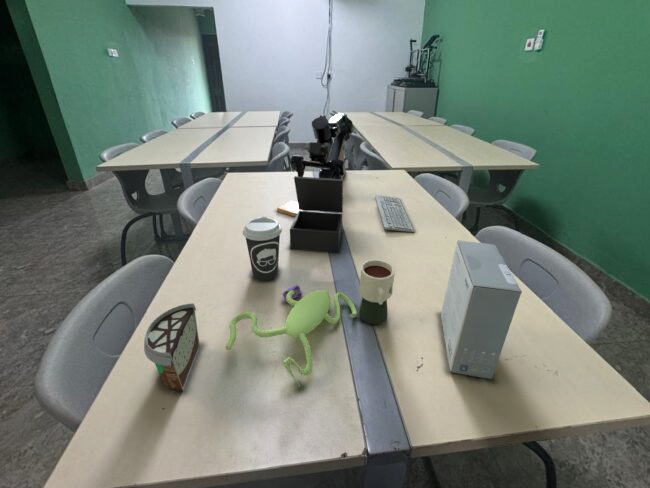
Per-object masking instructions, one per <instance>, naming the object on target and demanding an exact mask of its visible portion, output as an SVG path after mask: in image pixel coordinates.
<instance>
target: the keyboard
mask: <svg viewBox="0 0 650 488" xmlns="http://www.w3.org/2000/svg"><path fill="white" fill-rule="evenodd" d="M374 199H375V202H376V206H377V209H378V213H379V216H380V219H381V223H382V226H383V230H386V231H397V232H406V233H408V232H409V233H415V230H414V227H413V226H412V224H411V221H410V219H409V216H408V215H407V212H406V211H405V209H404V206H403V204H402V202H401V200H400V198H399V197H397V196H388V195H378V194H375V196H374Z"/></svg>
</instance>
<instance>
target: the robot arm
mask: <svg viewBox="0 0 650 488" xmlns="http://www.w3.org/2000/svg"><path fill="white" fill-rule="evenodd" d="M311 127H312V131H313V135H314V139H315V140H316V142H311V141H310V142H309V143H308V149H307V153H309V154H308V158H309V159H305V158H304V156H303V155H297V154H296V155H294V154H293V155H292V156H291V157H290V159H289V161H290V164H291V166H292V170H293V171H295V172H296V173H297V177H304V175H305V170H306V167H309V168H316V169H320V170H319V171H318V178H329V179H342V176H343V175H344V173H345V174H346V172H345V169H346V163H345V164H344V161H345V160H344V161H343V160H340V158H341V154H342V151H343V150H344V147H345V145H346V142H347V141H349V140H350V139H351V137H352V134H353V133H354V124H353V121H352V120H351V119H350V118H349V117H348V115H347V114H346V113H340V112H337V113H336V112H335V113H334V115H333V116H332V117H331V118H330V119H327V117H326V115H323V114H319V116H318V117H316V118H313V120H312V121H311ZM331 149H332V150H331ZM330 151H331V153H330ZM329 155H330V157H329ZM328 159H329V160H328ZM344 176H345V175H344Z"/></svg>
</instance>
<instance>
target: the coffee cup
mask: <svg viewBox="0 0 650 488" xmlns="http://www.w3.org/2000/svg"><path fill="white" fill-rule="evenodd" d="M282 232H283V229H282V226H281V224H280V223H279V221H278V220H277V219H276V218H274V217H271V216H258V217H254V218H250V219H249V220H247V221H246V222H245V225H244V227H243V229H242V235H243V237H244V238H245V242H246V247H247V252H248V257H249V262H250V267H251V271H252V272H251V273H252V276H253V278H254V279H255V280H256V281H259V282H260V281H261V282H268V281H271V280H273V279H275V278H276V277H277V276H278V275H279V261H280V260H279V257H280V237H281V234H282Z"/></svg>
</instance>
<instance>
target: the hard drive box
mask: <svg viewBox="0 0 650 488" xmlns="http://www.w3.org/2000/svg"><path fill="white" fill-rule="evenodd" d="M522 293H523V291H522V289H521V288H520V286H519V284H518V282H517V280H516V279H515V277H514V275H513V274H512V272H511V270H510V268H509V267H508V265H507V263H506V262H505V260H504V258H503V256H502V254H501V253H500V252H499V249H498V248H497V246H496V244H494V243H493V244H492V243H484V242H477V241H476V242H475V241H466V240H457V241H456V245H455V250H454V255H453V258H452V262H451V268H450V271H449V277H448V281H447V286H446V290H445V294H444V299H443V302H442V303H443V304H442V307H441V314H440V318H441V323H442V324H441V325H442V330H443V337H444V343H445V349H446V356H447V361H448V366H449V371H450V372H452V373H454V374H459V375H465V376H471V377H476V378H481V379H489V380H492V379H493V377H494V374H495V371H496V368H497V365H498V362H499V359H500V356H501V353H502V350H503V347H504V345H505V341H506V338H507V335H508V333H509V330H510V327H511V324H512V321H513V318H514V315H515V312H516V310H517V306H518V303H519V300H520V297H521V295H522Z"/></svg>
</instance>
